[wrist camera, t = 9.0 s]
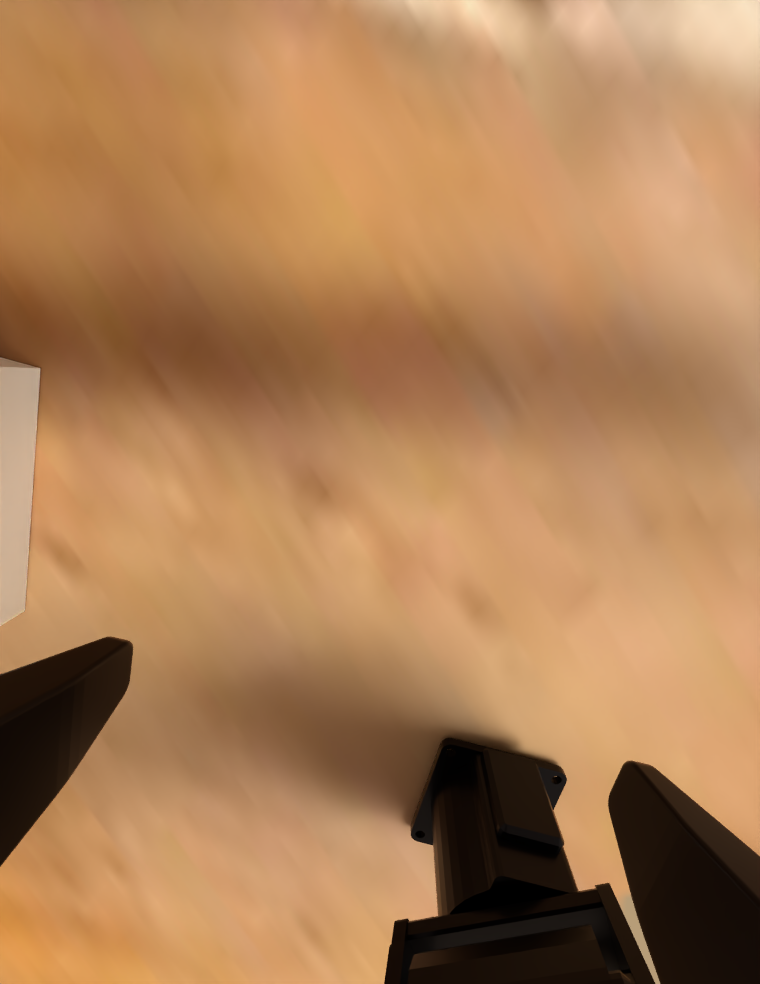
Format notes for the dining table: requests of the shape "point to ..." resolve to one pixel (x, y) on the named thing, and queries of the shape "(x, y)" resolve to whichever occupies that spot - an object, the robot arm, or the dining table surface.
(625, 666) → the dining table surface
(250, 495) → the dining table surface
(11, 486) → the slab
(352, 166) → the dining table surface
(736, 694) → the dining table surface
